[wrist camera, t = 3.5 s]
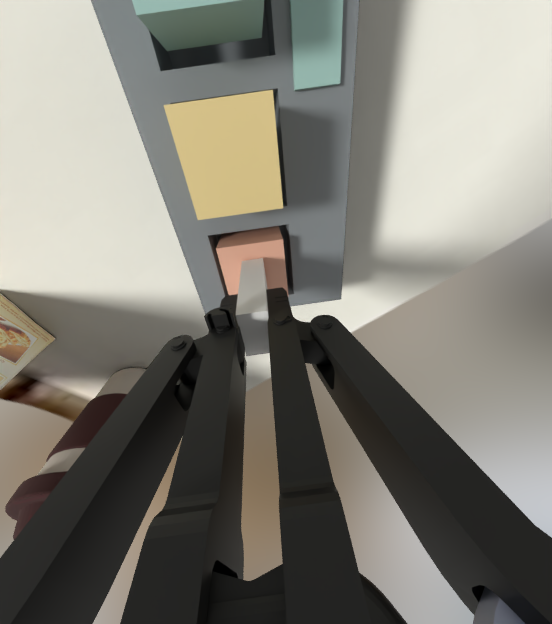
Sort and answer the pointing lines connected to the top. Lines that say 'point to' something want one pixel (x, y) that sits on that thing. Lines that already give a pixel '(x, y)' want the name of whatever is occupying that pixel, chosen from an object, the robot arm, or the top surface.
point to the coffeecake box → (18, 340)
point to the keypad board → (289, 126)
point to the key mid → (228, 153)
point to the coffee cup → (70, 447)
